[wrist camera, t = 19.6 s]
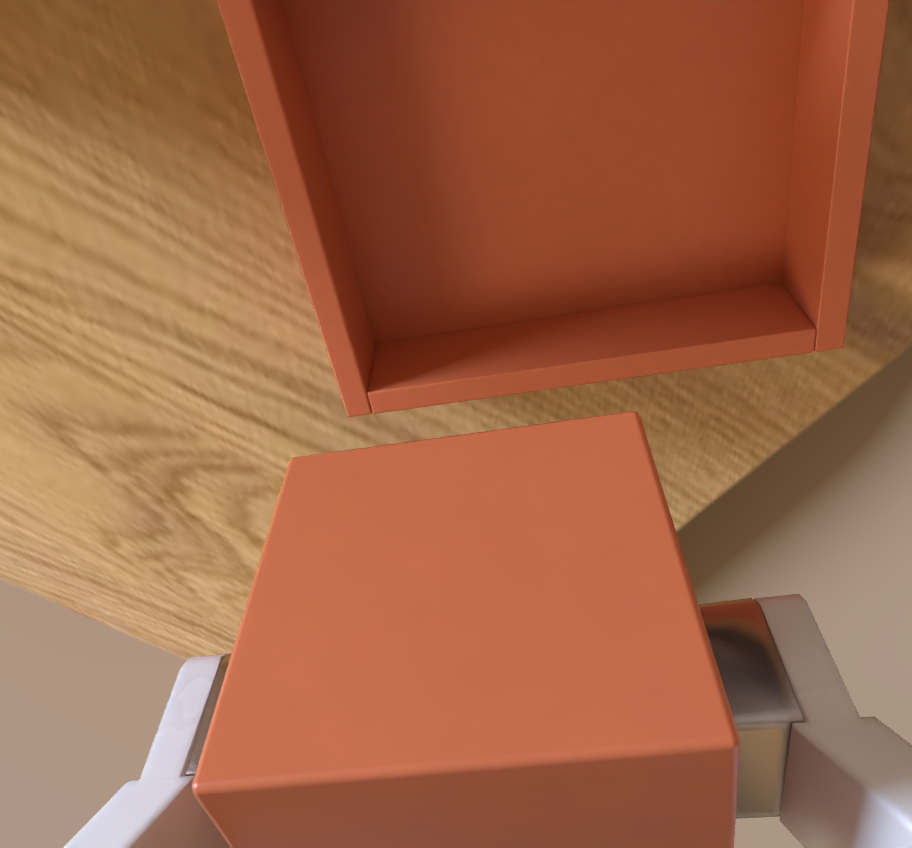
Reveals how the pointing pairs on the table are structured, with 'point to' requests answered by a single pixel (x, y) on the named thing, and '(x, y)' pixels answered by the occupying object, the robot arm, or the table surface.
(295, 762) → the block
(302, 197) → the terracotta bin
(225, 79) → the table surface
